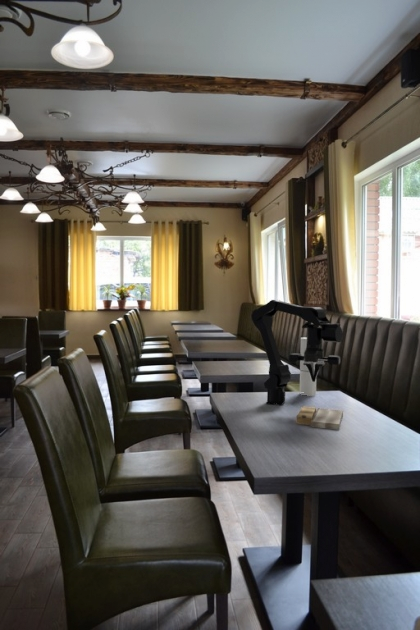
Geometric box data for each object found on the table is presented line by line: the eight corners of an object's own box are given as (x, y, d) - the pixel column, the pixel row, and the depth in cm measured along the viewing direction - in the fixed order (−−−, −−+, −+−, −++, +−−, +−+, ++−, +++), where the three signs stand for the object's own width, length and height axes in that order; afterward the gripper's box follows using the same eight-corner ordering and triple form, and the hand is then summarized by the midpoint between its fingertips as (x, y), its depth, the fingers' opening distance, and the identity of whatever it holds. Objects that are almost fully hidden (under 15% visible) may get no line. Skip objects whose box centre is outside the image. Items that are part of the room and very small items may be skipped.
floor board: (311, 426, 157) (311, 421, 157) (317, 412, 176) (318, 407, 175) (339, 429, 154) (339, 423, 154) (342, 415, 173) (343, 410, 173)
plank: (302, 412, 175) (302, 404, 175) (315, 413, 174) (316, 406, 174) (296, 424, 160) (296, 415, 159) (311, 425, 158) (311, 417, 158)
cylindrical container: (314, 393, 212) (316, 337, 211) (316, 396, 204) (318, 339, 203) (298, 392, 212) (300, 337, 211) (300, 395, 205) (301, 338, 204)
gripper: (285, 341, 174) (284, 383, 175) (337, 343, 167) (336, 387, 168) (291, 338, 184) (291, 378, 185) (340, 340, 177) (340, 382, 178)
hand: (313, 381), depth 179 cm, fingers closed
